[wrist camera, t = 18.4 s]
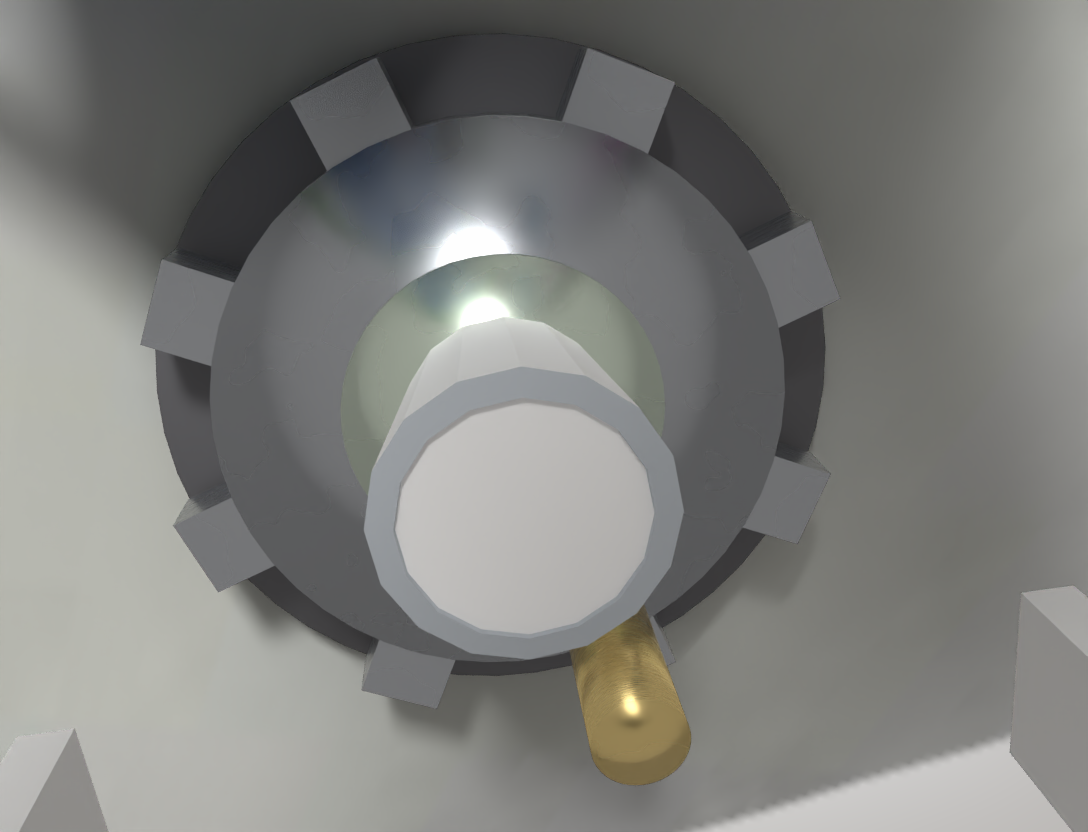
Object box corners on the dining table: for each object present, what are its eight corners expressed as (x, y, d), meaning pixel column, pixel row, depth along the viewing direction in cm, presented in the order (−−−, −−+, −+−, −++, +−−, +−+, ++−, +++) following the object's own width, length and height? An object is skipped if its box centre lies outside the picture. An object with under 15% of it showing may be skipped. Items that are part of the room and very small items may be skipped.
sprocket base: (34, 440, 31) (21, 451, 30) (433, -132, 27) (432, -138, 26) (547, 755, 36) (549, 773, 35) (941, 321, 32) (956, 329, 31)
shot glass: (575, 556, 30) (612, 696, 23) (349, 486, 28) (320, 614, 22) (668, 343, 28) (736, 430, 21) (430, 257, 27) (425, 321, 20)
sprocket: (365, 765, 34) (339, 997, 26) (18, 239, 28) (-170, 319, 19) (904, 519, 33) (1063, 678, 25) (676, -91, 26) (786, -162, 18)
